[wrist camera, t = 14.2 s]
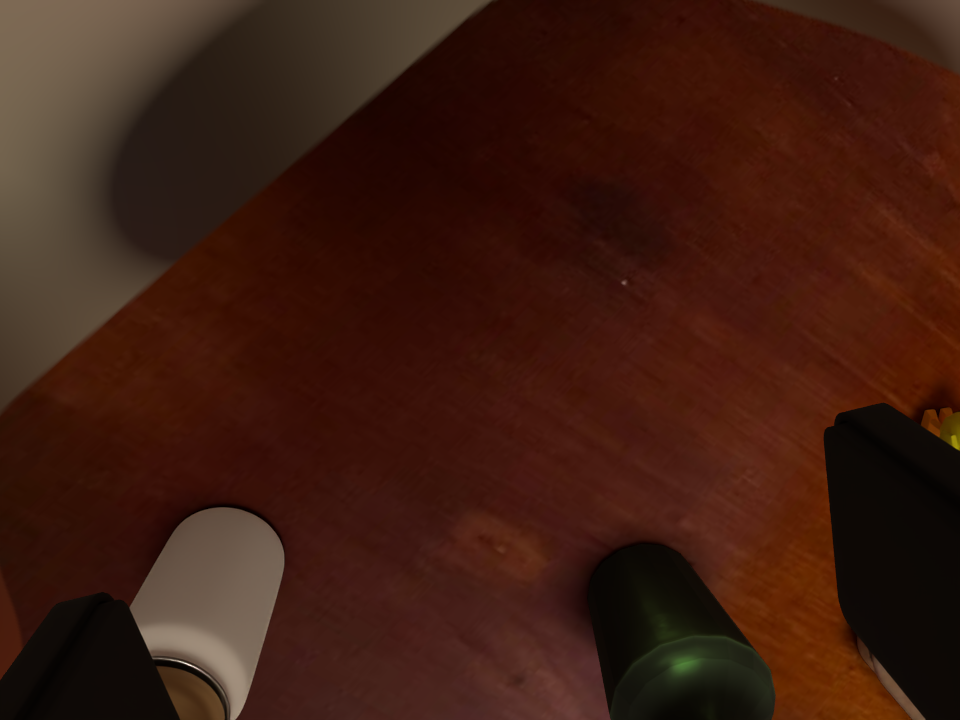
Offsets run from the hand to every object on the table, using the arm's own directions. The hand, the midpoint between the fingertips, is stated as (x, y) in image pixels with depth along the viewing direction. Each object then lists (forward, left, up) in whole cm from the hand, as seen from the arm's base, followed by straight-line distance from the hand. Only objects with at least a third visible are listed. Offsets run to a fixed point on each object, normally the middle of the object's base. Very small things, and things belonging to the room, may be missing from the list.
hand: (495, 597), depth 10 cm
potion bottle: (+24, -5, -31) cm, 39 cm away
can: (+6, -21, -31) cm, 38 cm away
